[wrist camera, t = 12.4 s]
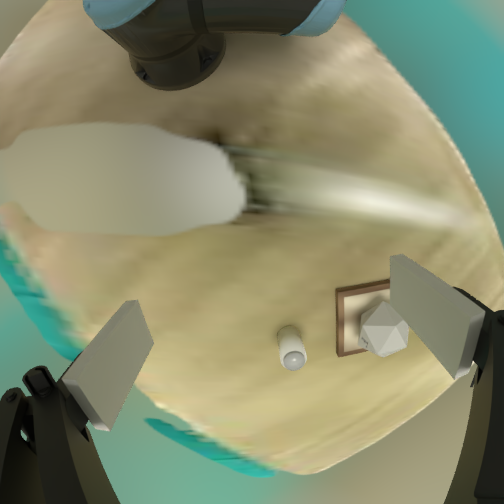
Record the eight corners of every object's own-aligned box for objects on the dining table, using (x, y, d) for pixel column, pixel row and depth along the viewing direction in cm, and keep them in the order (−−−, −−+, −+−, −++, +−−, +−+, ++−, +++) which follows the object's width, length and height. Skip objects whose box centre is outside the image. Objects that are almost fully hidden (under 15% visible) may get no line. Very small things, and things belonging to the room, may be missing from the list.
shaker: (276, 327, 46) (279, 353, 39) (299, 324, 46) (307, 349, 39) (278, 346, 47) (282, 374, 40) (300, 343, 47) (308, 370, 40)
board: (335, 289, 45) (338, 292, 43) (403, 276, 44) (407, 279, 43) (336, 352, 48) (338, 357, 46) (398, 338, 47) (401, 342, 46)
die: (368, 285, 44) (354, 331, 37) (418, 296, 39) (412, 345, 33) (361, 319, 48) (346, 362, 42) (405, 329, 44) (396, 374, 38)
